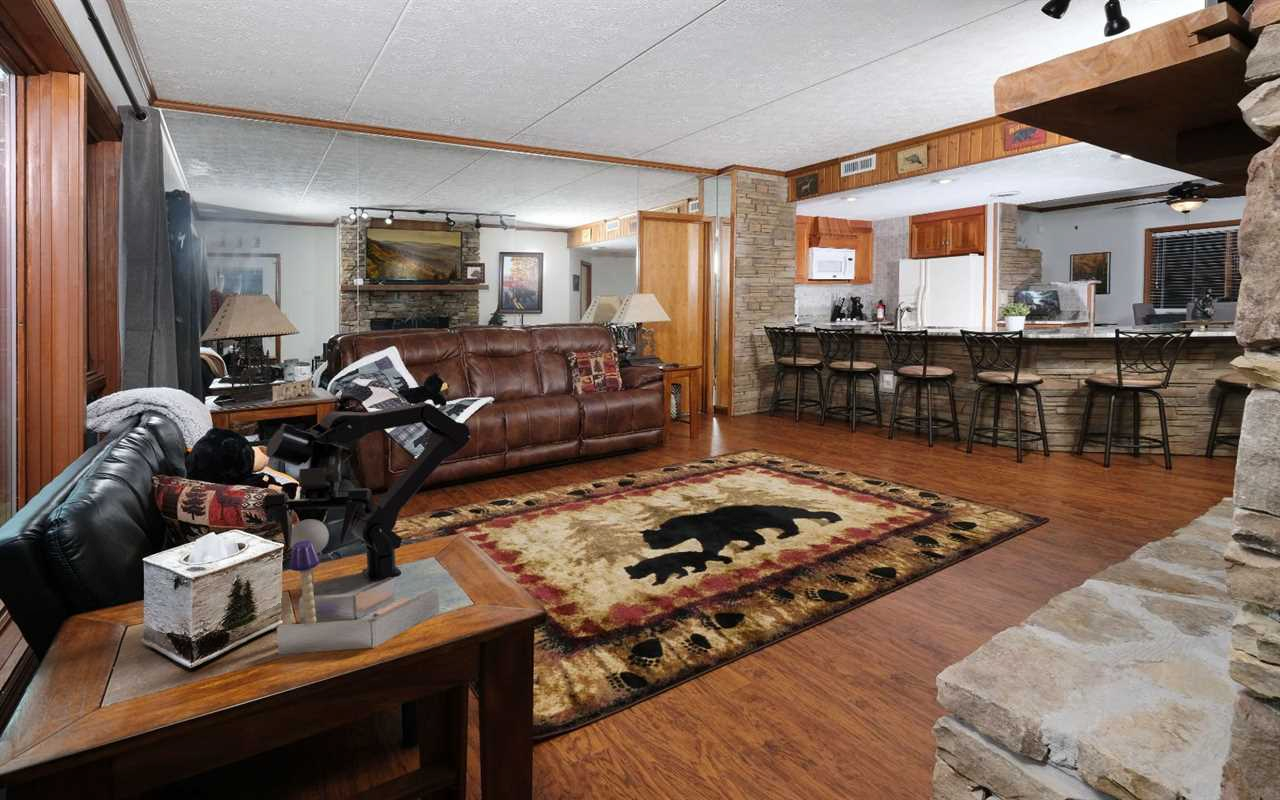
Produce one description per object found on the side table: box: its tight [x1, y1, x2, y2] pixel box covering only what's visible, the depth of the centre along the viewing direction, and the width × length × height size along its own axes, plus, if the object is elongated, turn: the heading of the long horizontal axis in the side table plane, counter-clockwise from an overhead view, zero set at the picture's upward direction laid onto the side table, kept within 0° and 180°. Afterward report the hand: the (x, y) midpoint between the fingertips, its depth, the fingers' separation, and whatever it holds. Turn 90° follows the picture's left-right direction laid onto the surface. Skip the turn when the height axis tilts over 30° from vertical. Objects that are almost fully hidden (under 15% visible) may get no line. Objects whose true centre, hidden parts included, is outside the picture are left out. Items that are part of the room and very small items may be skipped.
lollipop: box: [290, 518, 330, 594], centre depth 135 cm, size 7×7×15 cm
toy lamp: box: [288, 541, 320, 623], centre depth 118 cm, size 5×5×17 cm
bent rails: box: [276, 576, 440, 655], centre depth 121 cm, size 18×27×4 cm, turn 126°
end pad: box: [373, 598, 409, 617], centre depth 128 cm, size 7×7×1 cm
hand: (314, 545), depth 124 cm, fingers open, 9 cm apart
